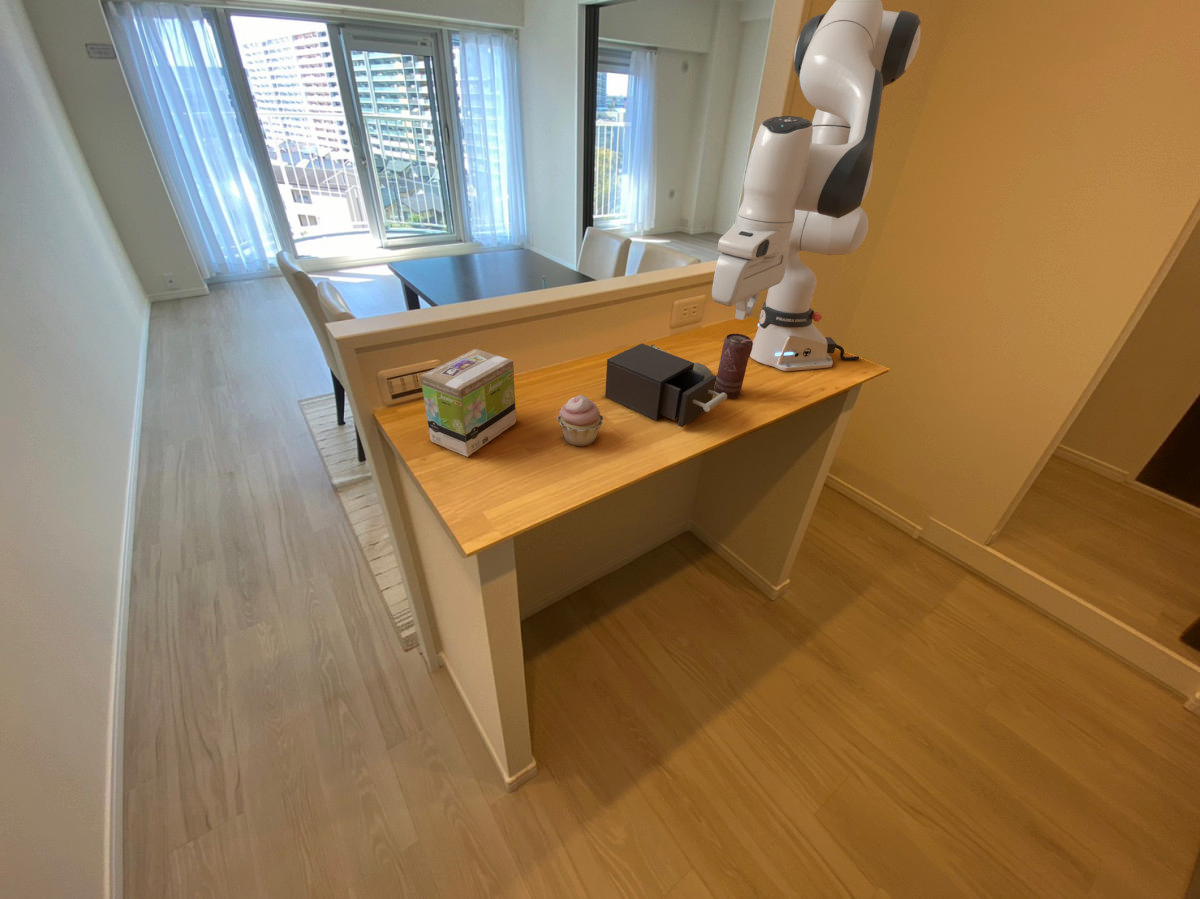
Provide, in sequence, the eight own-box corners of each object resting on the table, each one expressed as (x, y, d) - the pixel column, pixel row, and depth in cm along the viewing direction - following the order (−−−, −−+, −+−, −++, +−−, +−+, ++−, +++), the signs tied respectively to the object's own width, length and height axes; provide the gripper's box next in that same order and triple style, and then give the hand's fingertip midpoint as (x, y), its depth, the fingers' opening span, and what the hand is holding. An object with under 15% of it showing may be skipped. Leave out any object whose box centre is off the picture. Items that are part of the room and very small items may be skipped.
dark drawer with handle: (727, 415, 107) (734, 383, 103) (699, 435, 100) (706, 402, 96) (661, 387, 117) (665, 357, 112) (631, 404, 109) (634, 372, 105)
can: (741, 401, 115) (754, 344, 106) (713, 397, 115) (725, 341, 107) (740, 388, 119) (753, 334, 111) (714, 385, 120) (725, 331, 112)
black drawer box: (688, 400, 114) (694, 362, 108) (656, 421, 106) (661, 381, 100) (638, 379, 121) (641, 343, 116) (605, 397, 113) (607, 359, 108)
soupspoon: (697, 387, 121) (716, 382, 124) (700, 375, 119) (719, 370, 122) (642, 351, 134) (660, 347, 138) (644, 340, 132) (662, 336, 136)
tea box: (469, 459, 92) (459, 389, 83) (430, 442, 96) (416, 374, 87) (518, 423, 103) (514, 358, 94) (480, 409, 107) (473, 346, 98)
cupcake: (556, 425, 103) (555, 383, 97) (600, 425, 104) (602, 383, 98) (556, 451, 95) (556, 407, 89) (604, 451, 96) (607, 406, 90)
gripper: (771, 224, 88) (753, 299, 97) (712, 241, 76) (698, 327, 84) (805, 230, 85) (784, 308, 93) (749, 250, 72) (730, 338, 81)
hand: (742, 317), depth 89 cm, fingers closed
